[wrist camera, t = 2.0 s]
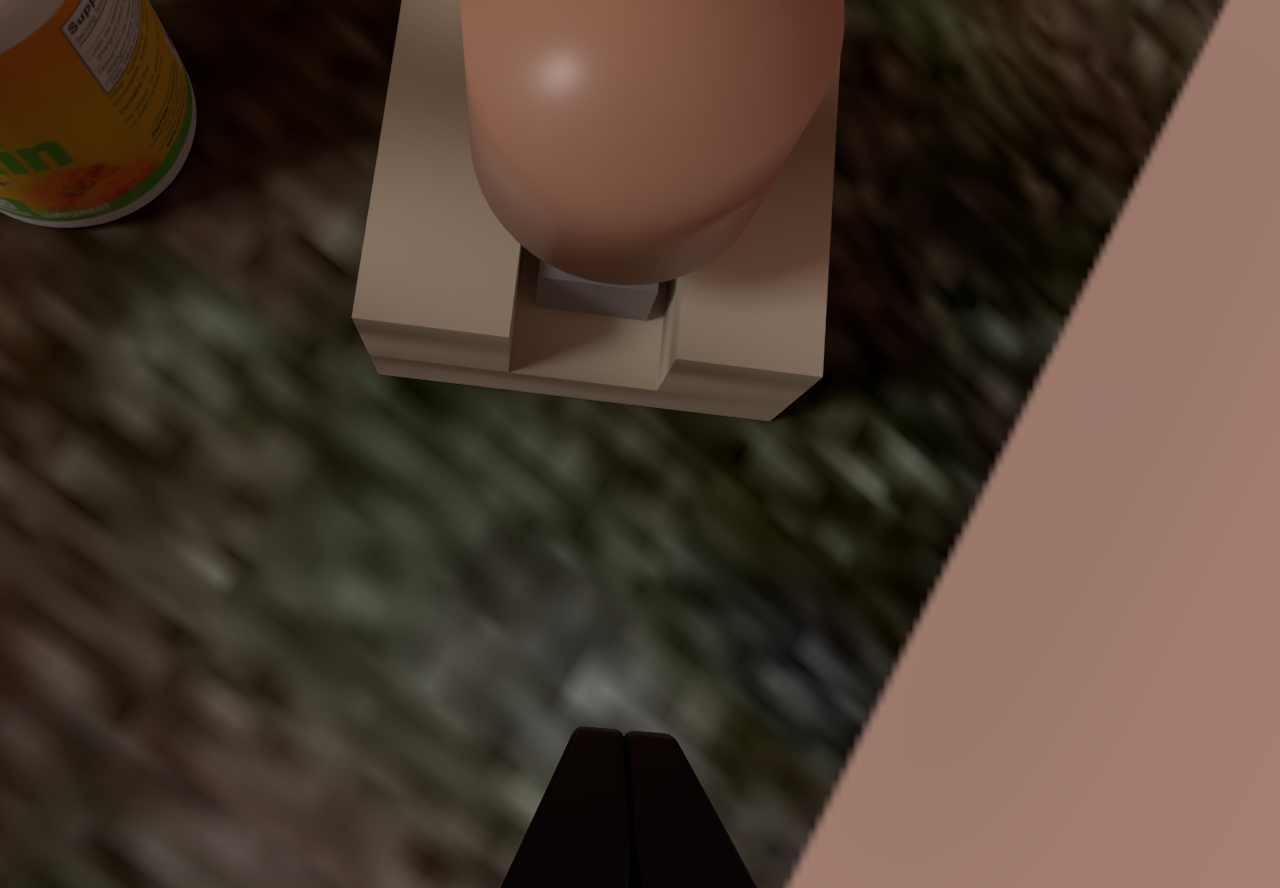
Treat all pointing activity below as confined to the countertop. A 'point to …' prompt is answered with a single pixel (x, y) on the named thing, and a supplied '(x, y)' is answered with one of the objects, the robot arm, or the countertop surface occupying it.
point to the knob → (637, 130)
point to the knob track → (508, 273)
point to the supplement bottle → (88, 110)
